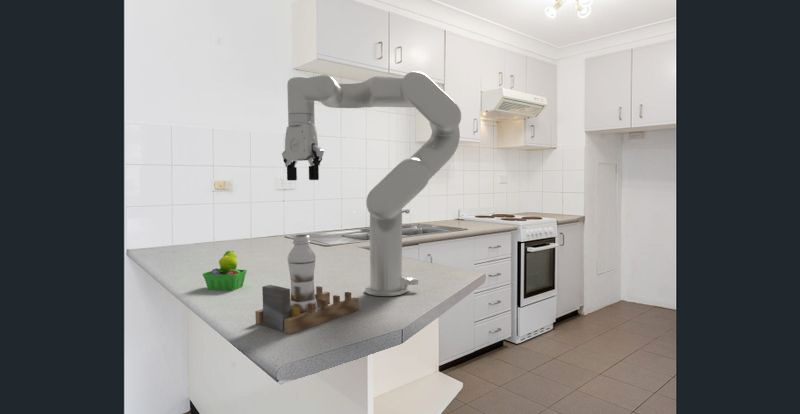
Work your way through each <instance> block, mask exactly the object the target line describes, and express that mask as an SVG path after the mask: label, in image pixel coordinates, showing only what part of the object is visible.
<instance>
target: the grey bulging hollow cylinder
mask: <svg viewBox="0 0 800 414" xmlns="http://www.w3.org/2000/svg"><path fill="white" fill-rule="evenodd" d="M292 243H293V247H292V249H291V250H290V251H289V253H288V256H287V263H288V271H289V275H290V276H289V278H290V306H294V307H298V308H300V314H303V313H306V312H308V303H315V309H318V307H317V301H316V298H315V294H316V288H315V269H316V259H317V258H316V254H315V252H314V251H313V249H312V248H311V246H310V245H309V244H310V243H311V240H310V234H295V235H293V242H292Z"/></svg>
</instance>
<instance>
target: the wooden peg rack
mask: <svg viewBox="0 0 800 414" xmlns="http://www.w3.org/2000/svg"><path fill="white" fill-rule="evenodd" d="M261 290H262V291H261V292H262V309H257V310H255V324H256V325H263V326H265V327H268V328H271V329H272V330H273V329H274V330H276V331H281V332H284V333H285V334H288V335H291V334H293V333H297V332H300V331H303V330H305V329H308V328H310V327H313V326H317V325H320V324H322V323H325V322H328V321H331V320H333V319H337V318H340V317H342V316H346V315H349V314H350V313H354V312H356V311H359V303H360V302H359V301H360V300H359V298H358V297H352V292H349V291H346V292H344V300H341V296H340V295H336V294H335V295H332V304H331V302H330V301H331V300H330V299H331V297H330V295H331V294H330V293H331V292H330V291H323V286H319V285H317V286H315V298H316V301H317V309H315V303H308V312H306V313H303V314H300V308H298V307H294V306H290V300H291V299H290V298H291V288H287V287H283V286H278V285H274V284H273V285H272V284H267V285H264V286H262V289H261Z"/></svg>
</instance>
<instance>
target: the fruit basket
mask: <svg viewBox="0 0 800 414" xmlns="http://www.w3.org/2000/svg"><path fill="white" fill-rule="evenodd" d="M218 264H219V268H213V269H212V270H209V271H207V272H203V273H202V276H203V278H204V281H205V284H206V288H207V289H208V290H217V291H219V290H223V291H236V290H238V289H240V288H241V287H243V286H244V283H245V277H246V274H247V272H248V270H247V269H237V266H238V260H237V254H236V253H235V251H234V250H227V251H225V253H224V254H223V256H222V257H220V258H219V261H218Z"/></svg>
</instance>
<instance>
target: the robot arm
mask: <svg viewBox="0 0 800 414" xmlns="http://www.w3.org/2000/svg"><path fill="white" fill-rule="evenodd" d="M286 87H287V117H288V119H287V122H288V124H287V125H288V126H287V127H286V130H285V138H284V150H283V151H282V153H281V156H282V158H283V162H284V165H285V168H286V179H287V181H297V180H298V176H297V175H298V174H297V172H298V171H297V170H298V169H297V167H296V165H297V163H298V162H299V161H307V162H308V164H309V165H308V180H309V181H319V179H320V178H319V177H320V174H319V173H320V172H319V170H320V169H319V167H320V166H321V162H322V160H323V157H324V153H325V151H324V149H323V148H321V147H320V146H319V143H318V142H319V141H318V133H317V129H316V126H315V102H319V103H321V104H322V105H323V106H324V107H328V108H334V109H361V108H376V107H377V108H387V107H389V108H415V109H416V110H417V111H418V112H419V113H420V114H421V115H422V116H423V117H425V119H426V120H427V121H429V126H430V129H431V135H430V137H429V139H427V141H425V142H424V143H423V145H422V146H421V147H420V148H418V150H416V152H414V153H413V154H412V155H411V156H409V158H406V159H403V160H402V161H400V162H399V163H398V164H397V165H396V166H395V167H393V169H391V171H390V172H389V173H388V174H386V176H384V177H383V178H382V179H381V180H380V181H379V182H378V183H377V184H376V185H375V186H374V187H373V188H372V189H371V190H370V191H369V192H368V195H367V196H366V200H365V202H366V205H365V206H366V209H367V211H368V213H369V266H370V267H369V269H370V270H369V272H370V273H369V275H370V277H369V278H370V279H369V281H370V284H369V285H367V286H366V287H365V290H364V291H365V293H366V294H368V295H370V296H375V297H395V296H400V295H405V294H406V293H407V292H408V290H409V289H408V288H409V287H408V286H418V285H419V279H418V278H414V277H405V276H404V274H403V209H404V208H405V207H406V206H407V205H408V204H409V203H410V202H411V201H412V200H413V199H414V198H416V196H417V195H418V194H420V193H421V191H423V189H425V187H427V185H428V183H429V181H430V179H432V178H433V177H434V176H435V175H436V174H437V173H439V171H440V170H441V169H442V168H443V167H444V166H445V165H446V164H447V162H449V160H451V159H452V157H453V156H454V154H455V152H456V151H457V149H458V147H459V143H460V138H461V136H460V134H461V133H460V123H461V120H462V112H461V109H460V107H459V106H458V104H457V103H456V102H455V101H454V100H453V99H452V98H451V97H450V96H449V95H448V94H447V93H446V92H445V91H444V90H443V89H441V87H440V86H439V85H438V84H437V83H436V82H435V81H433V80H432V78H430V77H429V76H428V75H427V74H426V73H424V72H422V71H417V70H414V71H410V72H407V73H406V74H405V75H404V76H379V75H378V76H377V75H376V76H372V77H370V78H368V79H366V80H365V81H362V82H358V83H357V82H355V83H338V82H337V81H336V80H335V79H334V78H333V77H332V76H330V75H327V74H326V75H325V74H321V75H316V76H310V77H302V76H294V77H292V78H289V79H288V81H287V85H286Z"/></svg>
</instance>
